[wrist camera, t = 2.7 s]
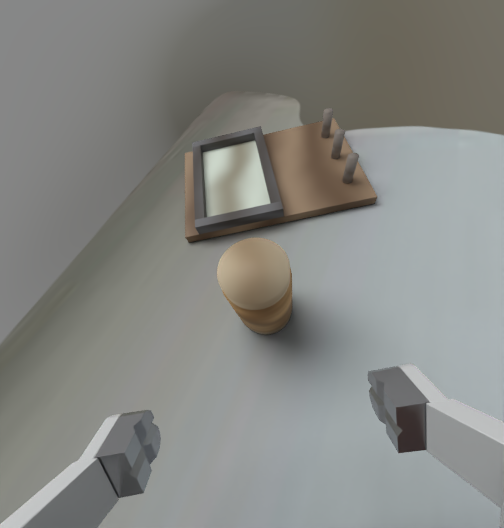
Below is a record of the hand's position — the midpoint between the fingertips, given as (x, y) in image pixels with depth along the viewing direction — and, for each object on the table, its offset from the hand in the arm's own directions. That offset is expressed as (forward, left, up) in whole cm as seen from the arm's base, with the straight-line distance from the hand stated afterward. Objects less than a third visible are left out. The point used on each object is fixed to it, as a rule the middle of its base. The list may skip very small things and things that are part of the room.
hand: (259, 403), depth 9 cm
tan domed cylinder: (0, -7, -10) cm, 13 cm away
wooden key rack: (-3, -23, -10) cm, 25 cm away
